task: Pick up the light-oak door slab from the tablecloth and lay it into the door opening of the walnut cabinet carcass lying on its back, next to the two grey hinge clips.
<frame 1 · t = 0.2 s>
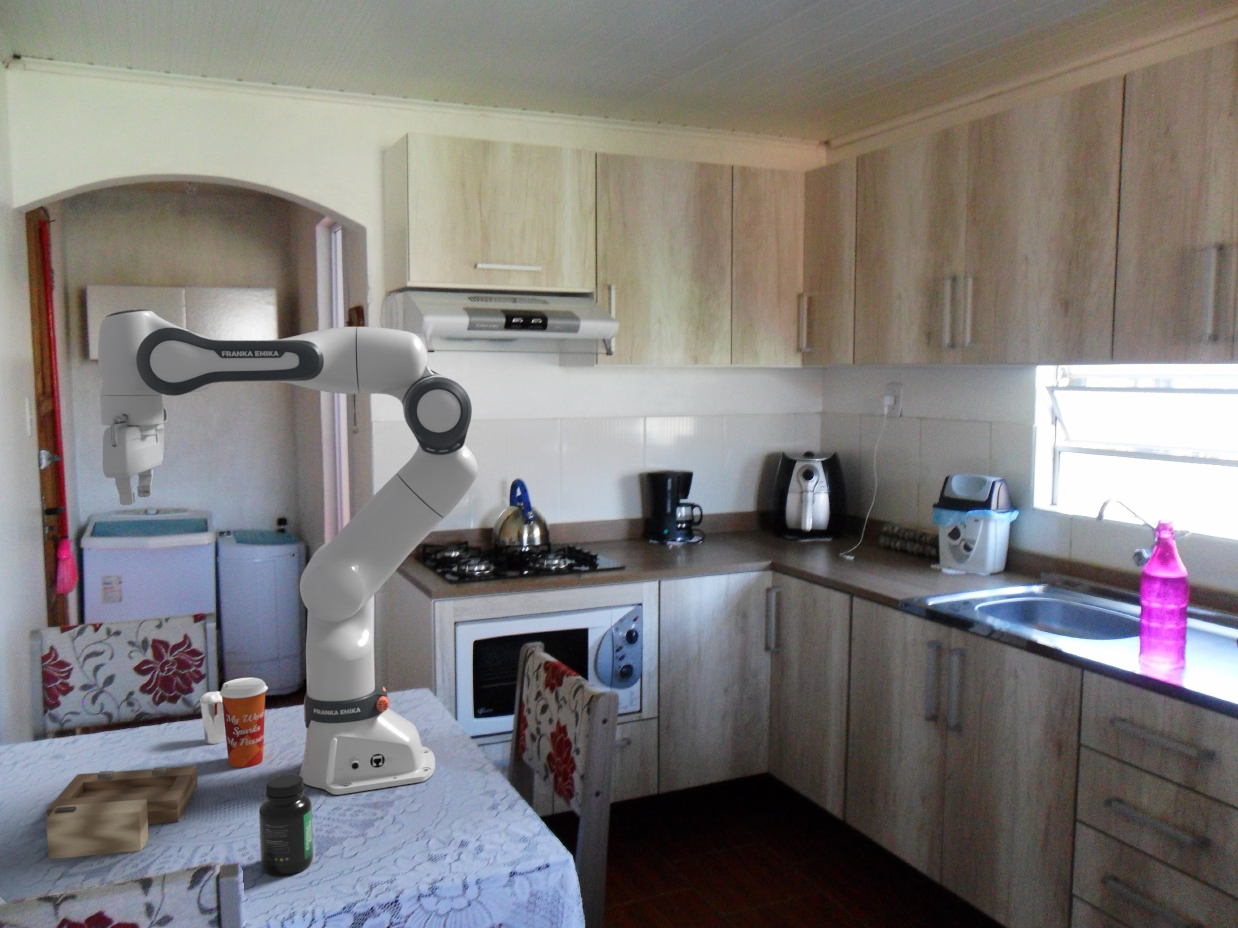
hand: (136, 500, 157), 47 cm above the table, fingers open, 8 cm apart
door: (99, 848, 141), on the table
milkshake: (217, 741, 181), on the table
paper cup: (246, 762, 172), on the table
supplement bottle: (287, 865, 136), on the table
carcass: (126, 807, 153), on the table
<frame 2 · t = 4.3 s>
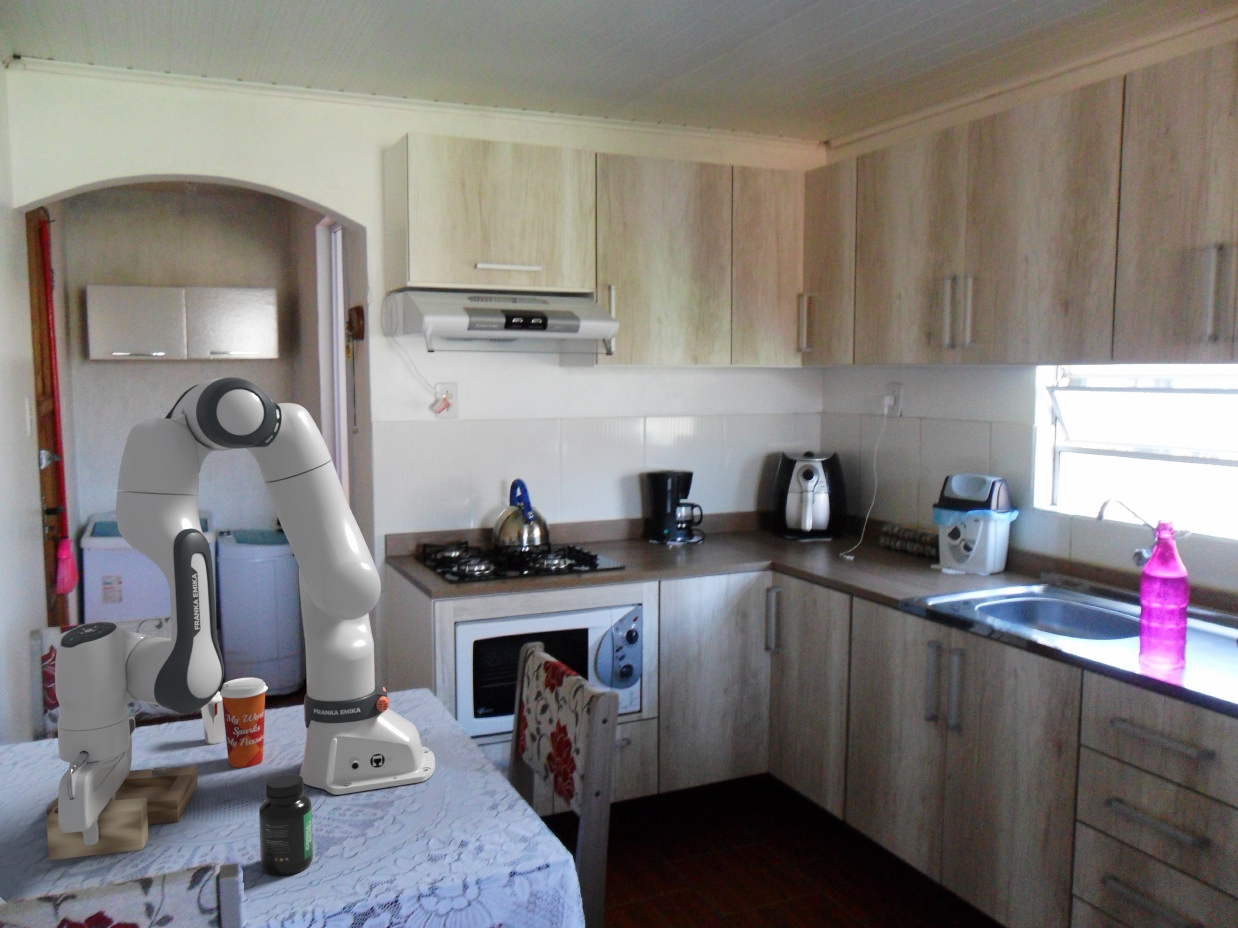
hand: (98, 833, 140), 2 cm above the table, fingers closed on door, 4 cm apart
door: (99, 847, 141), on the table, touching gripper
everything else where it was.
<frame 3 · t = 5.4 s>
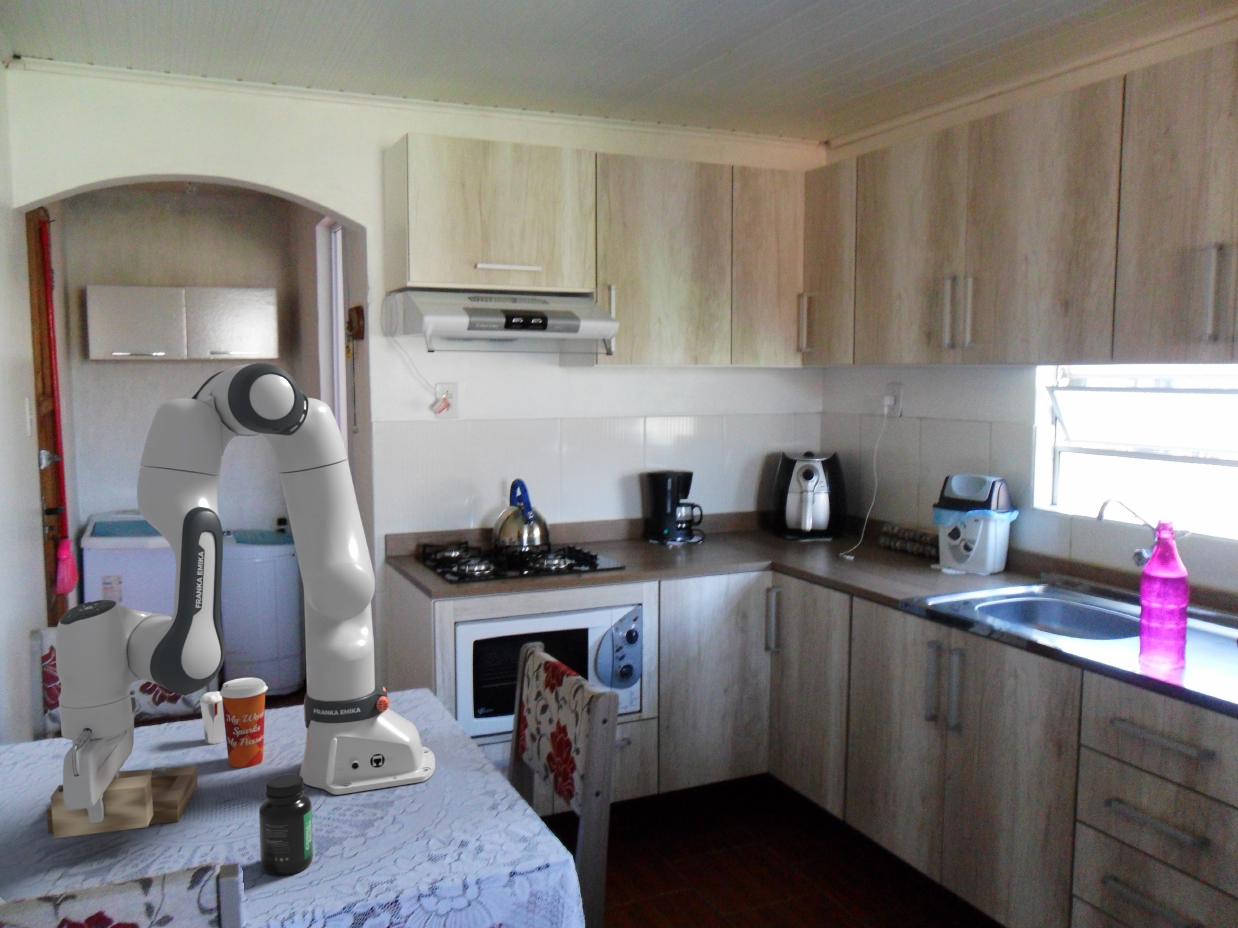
hand: (103, 811, 140), 5 cm above the table, fingers closed on door, 4 cm apart
door: (104, 825, 140), point 3 cm above the table, touching gripper
everything else where it was.
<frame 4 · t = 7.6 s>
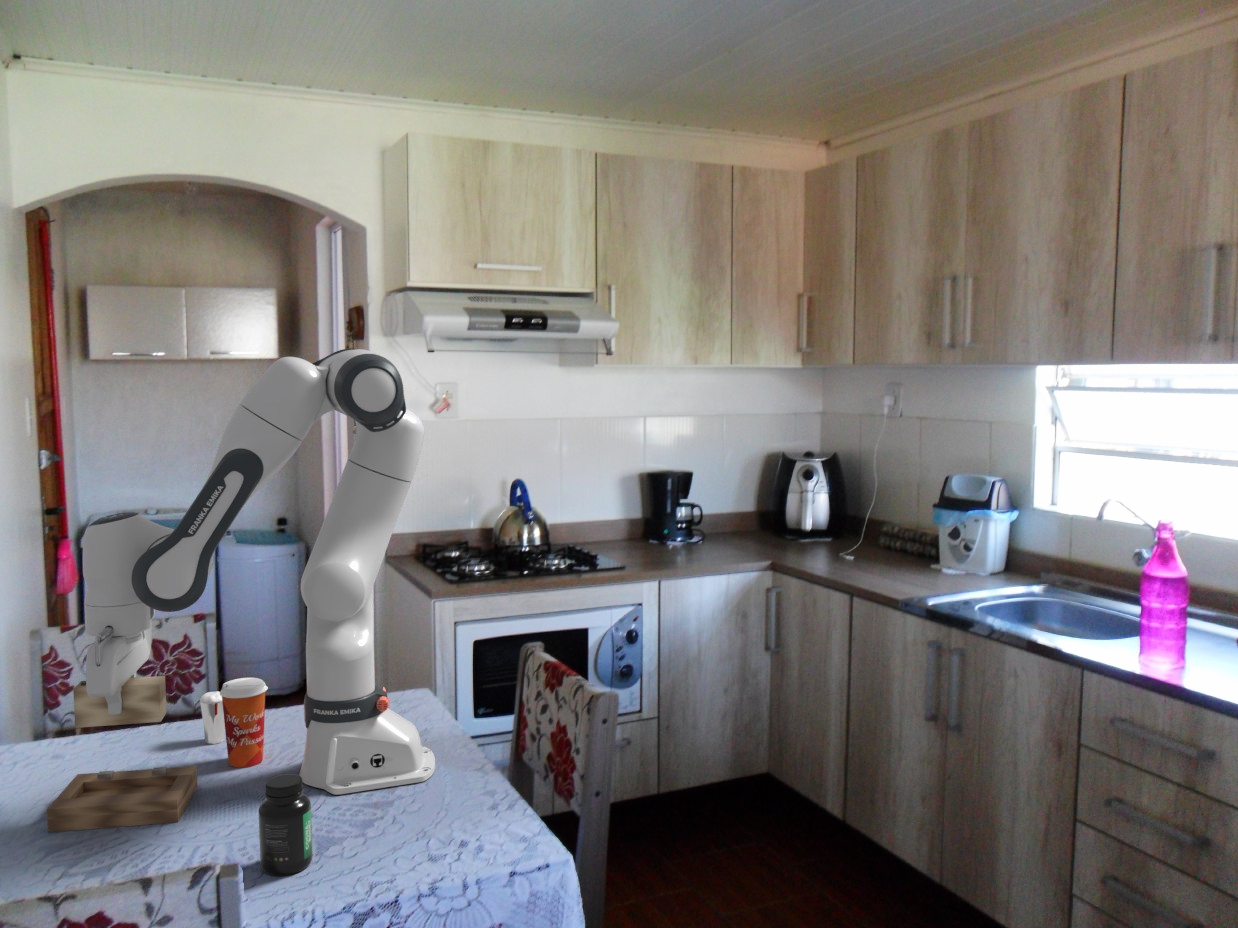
hand: (121, 706, 152), 16 cm above the table, fingers closed on door, 4 cm apart
door: (121, 719, 152), point 14 cm above the table, touching gripper
everything else where it was.
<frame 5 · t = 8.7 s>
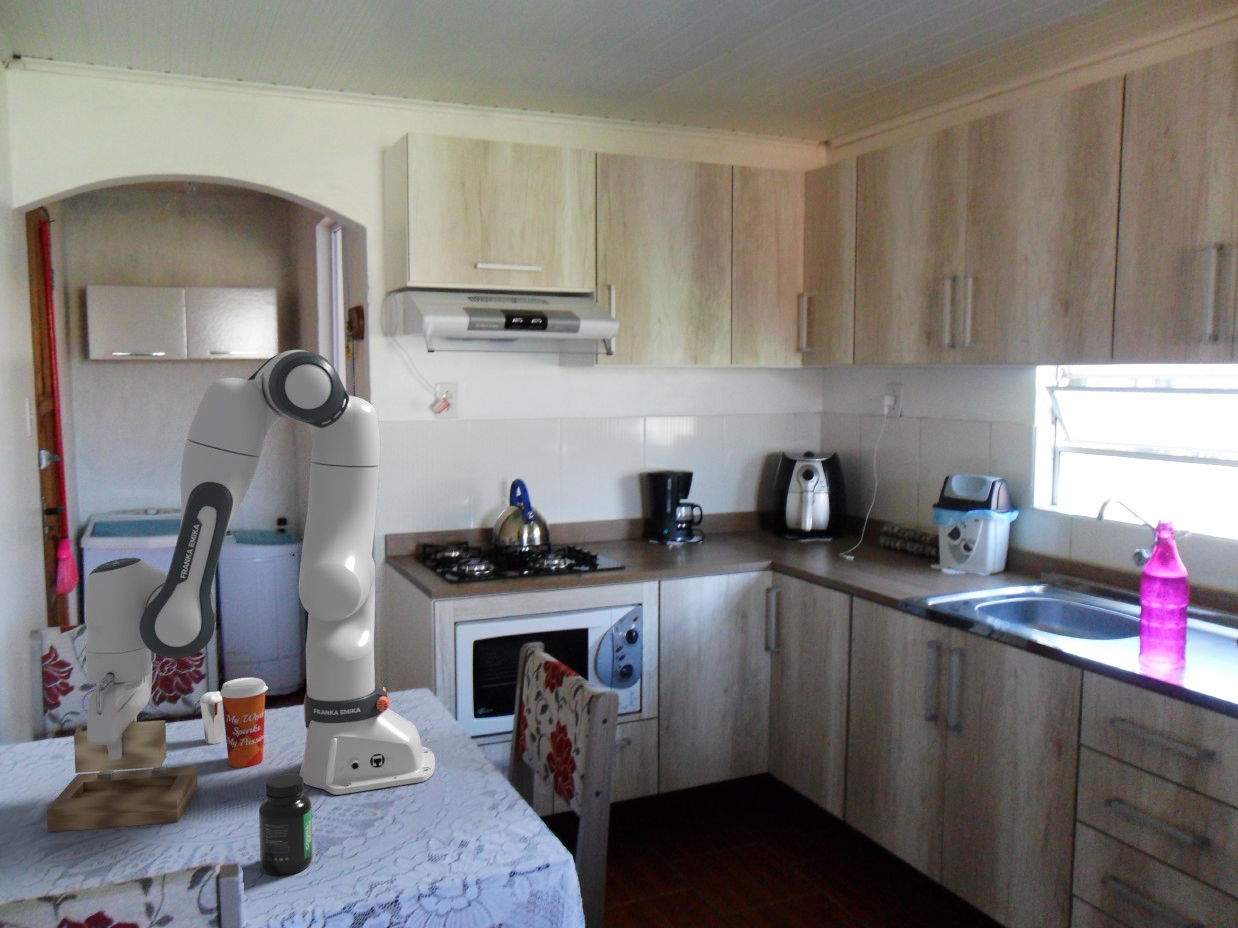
hand: (121, 751, 152), 9 cm above the table, fingers closed on door, 4 cm apart
door: (121, 764, 153), point 7 cm above the table, touching gripper
everything else where it was.
when the fingers open (6 cm above the table, at t = 9.7 s): door drops 2 cm, resting on carcass.
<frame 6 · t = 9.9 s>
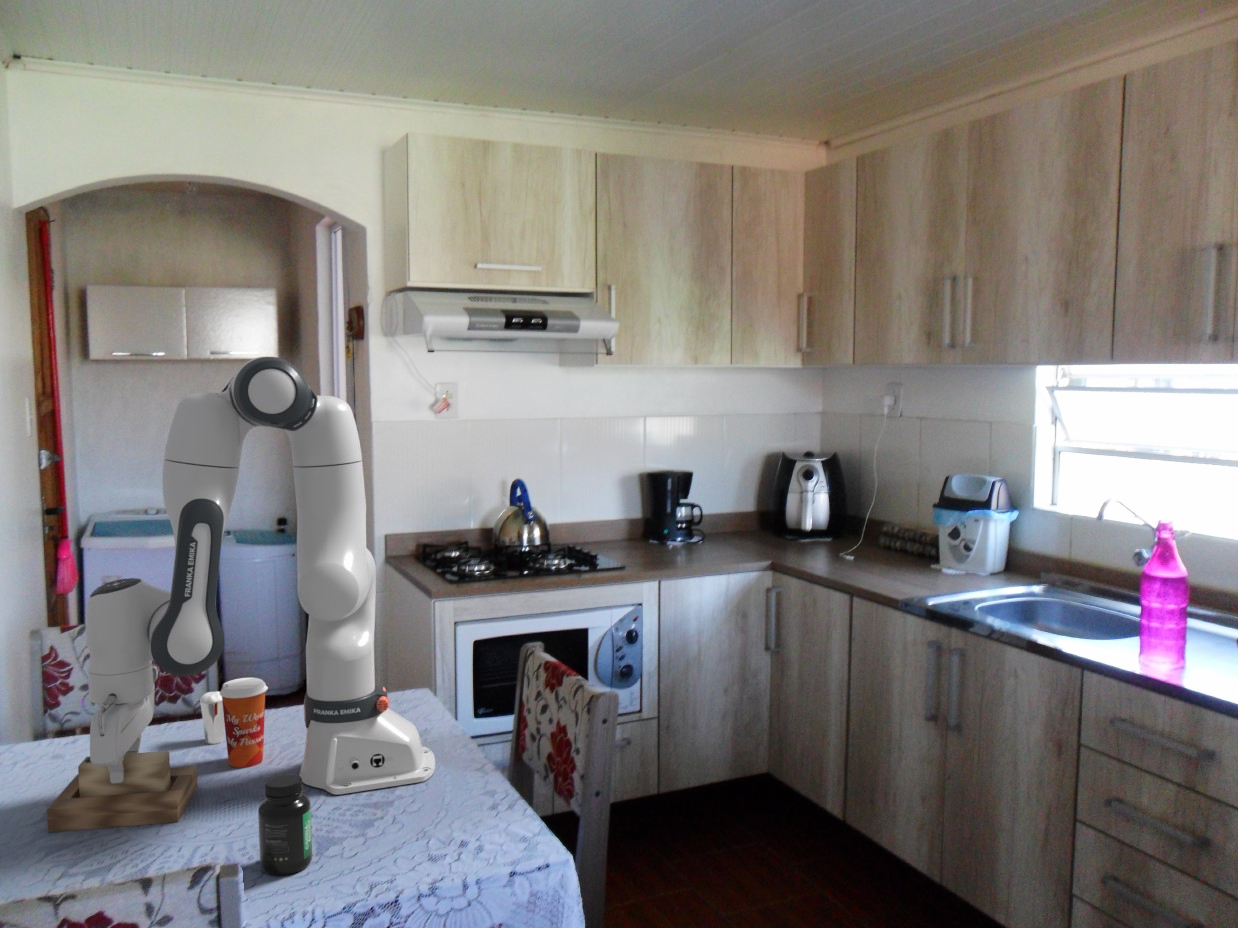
hand: (125, 771, 153), 6 cm above the table, fingers open, 6 cm apart
door: (126, 795, 153), point 2 cm above the table, touching carcass
everything else where it was.
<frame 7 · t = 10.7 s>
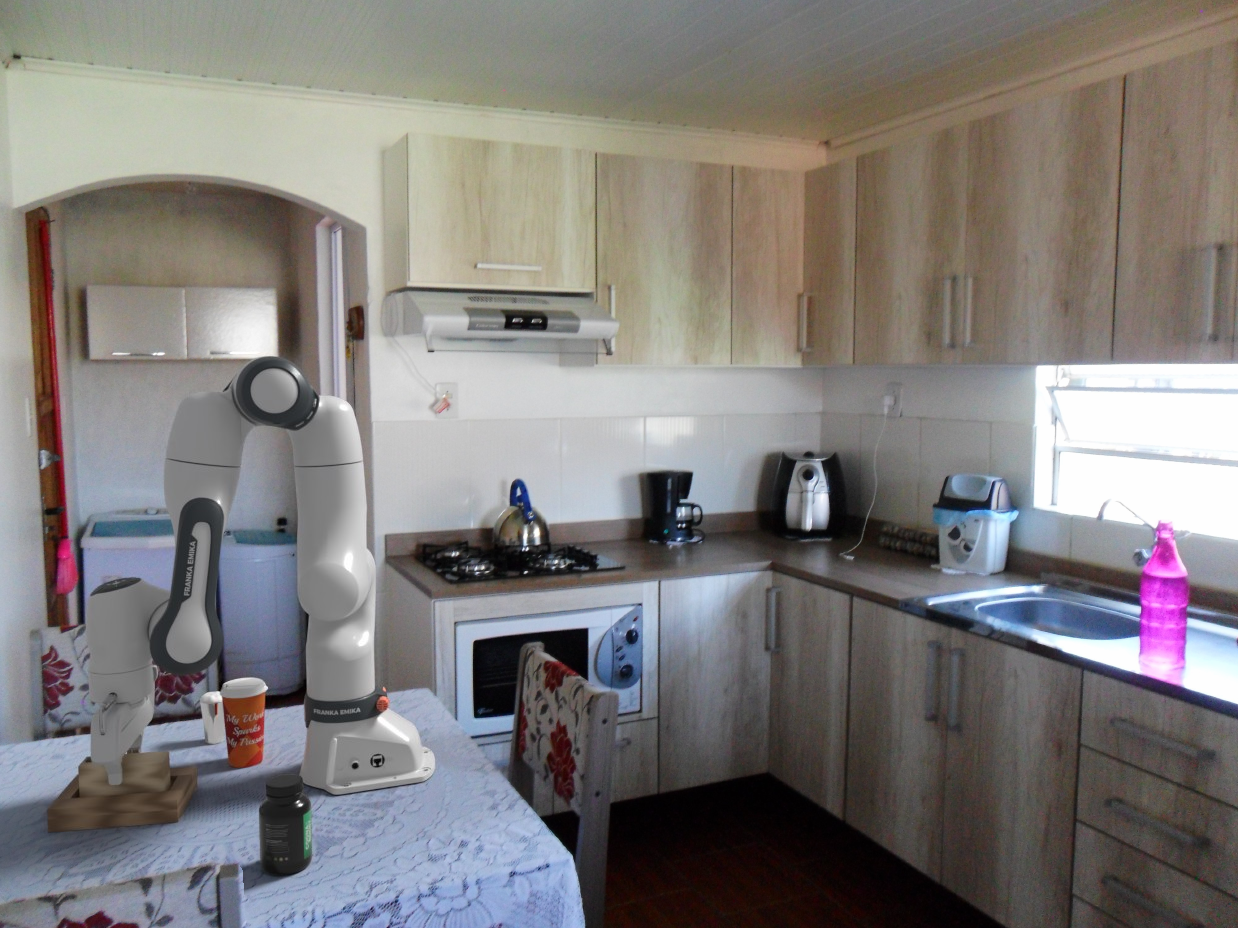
hand: (125, 770, 153), 6 cm above the table, fingers open, 8 cm apart
nothing on the table moved.
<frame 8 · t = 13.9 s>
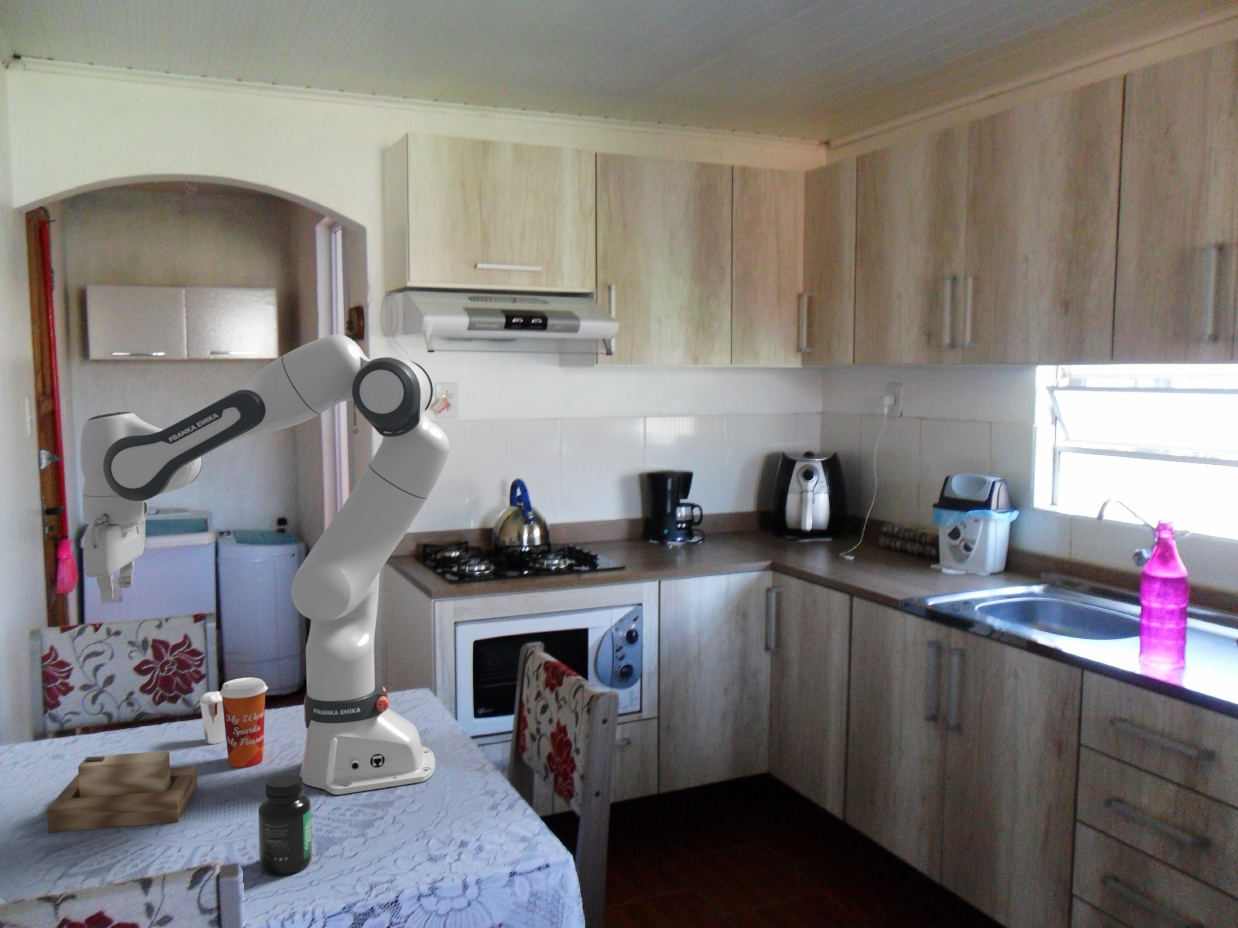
hand: (117, 593, 163), 31 cm above the table, fingers open, 8 cm apart
nothing on the table moved.
at the end: door 0.0 cm off-centre on the carcass, point 2.0 cm above the carcass's base; door tilted 0°; the gripper is holding nothing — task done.
